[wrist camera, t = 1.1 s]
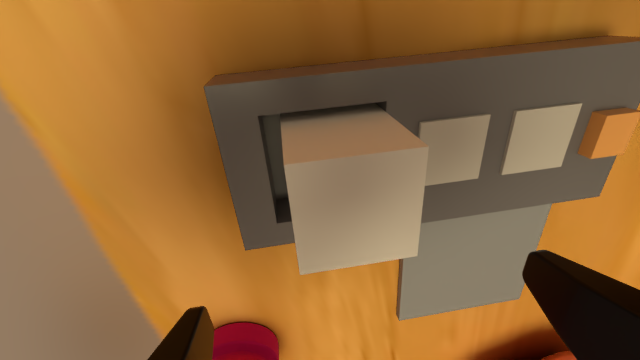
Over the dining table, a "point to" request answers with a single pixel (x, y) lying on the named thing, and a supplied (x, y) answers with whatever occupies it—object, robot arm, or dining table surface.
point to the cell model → (561, 356)
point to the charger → (352, 186)
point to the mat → (469, 261)
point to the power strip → (445, 124)
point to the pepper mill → (245, 343)
